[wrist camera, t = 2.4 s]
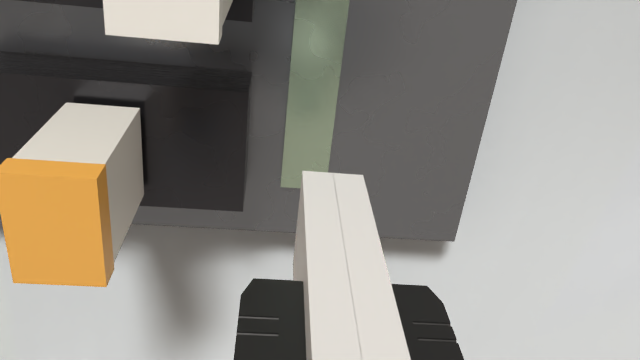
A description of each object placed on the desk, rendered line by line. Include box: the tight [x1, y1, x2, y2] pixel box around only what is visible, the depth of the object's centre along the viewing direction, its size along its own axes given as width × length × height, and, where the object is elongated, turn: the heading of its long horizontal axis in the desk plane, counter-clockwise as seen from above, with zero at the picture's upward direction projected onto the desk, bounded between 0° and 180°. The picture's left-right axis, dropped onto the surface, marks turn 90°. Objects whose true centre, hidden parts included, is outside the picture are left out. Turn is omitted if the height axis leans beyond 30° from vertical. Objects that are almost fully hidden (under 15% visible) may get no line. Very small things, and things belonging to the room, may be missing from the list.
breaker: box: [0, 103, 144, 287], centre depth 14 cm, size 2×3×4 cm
